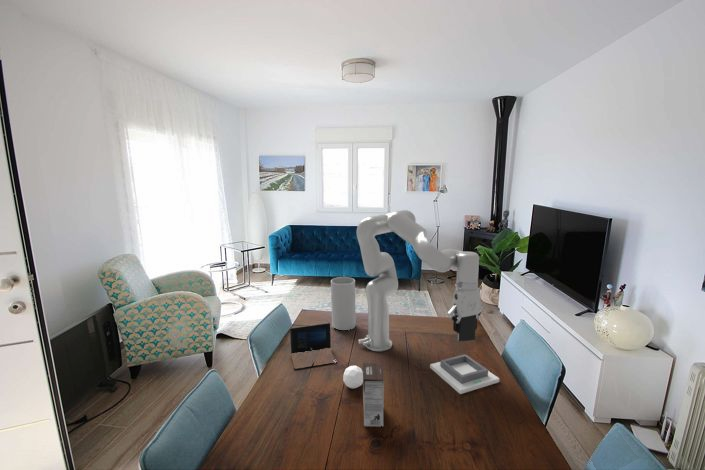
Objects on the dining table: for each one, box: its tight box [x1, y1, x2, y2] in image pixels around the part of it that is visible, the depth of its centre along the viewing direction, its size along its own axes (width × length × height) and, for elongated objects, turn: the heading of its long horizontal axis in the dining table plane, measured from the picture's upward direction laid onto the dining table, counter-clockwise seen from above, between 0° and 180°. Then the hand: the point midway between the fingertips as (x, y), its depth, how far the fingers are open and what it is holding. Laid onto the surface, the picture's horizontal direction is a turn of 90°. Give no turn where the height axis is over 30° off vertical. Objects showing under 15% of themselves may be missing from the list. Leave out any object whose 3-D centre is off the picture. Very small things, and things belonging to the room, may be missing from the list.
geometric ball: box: [342, 365, 363, 389], centre depth 118 cm, size 8×8×8 cm
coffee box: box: [362, 362, 385, 427], centre depth 102 cm, size 9×6×16 cm
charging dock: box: [429, 353, 500, 395], centre depth 124 cm, size 18×18×4 cm
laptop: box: [289, 322, 338, 364], centre depth 137 cm, size 18×12×13 cm
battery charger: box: [456, 315, 477, 342], centre depth 122 cm, size 7×4×11 cm, turn 99°
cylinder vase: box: [330, 276, 357, 331], centre depth 167 cm, size 12×12×25 cm
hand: (465, 329), depth 122 cm, fingers closed on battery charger, 7 cm apart
